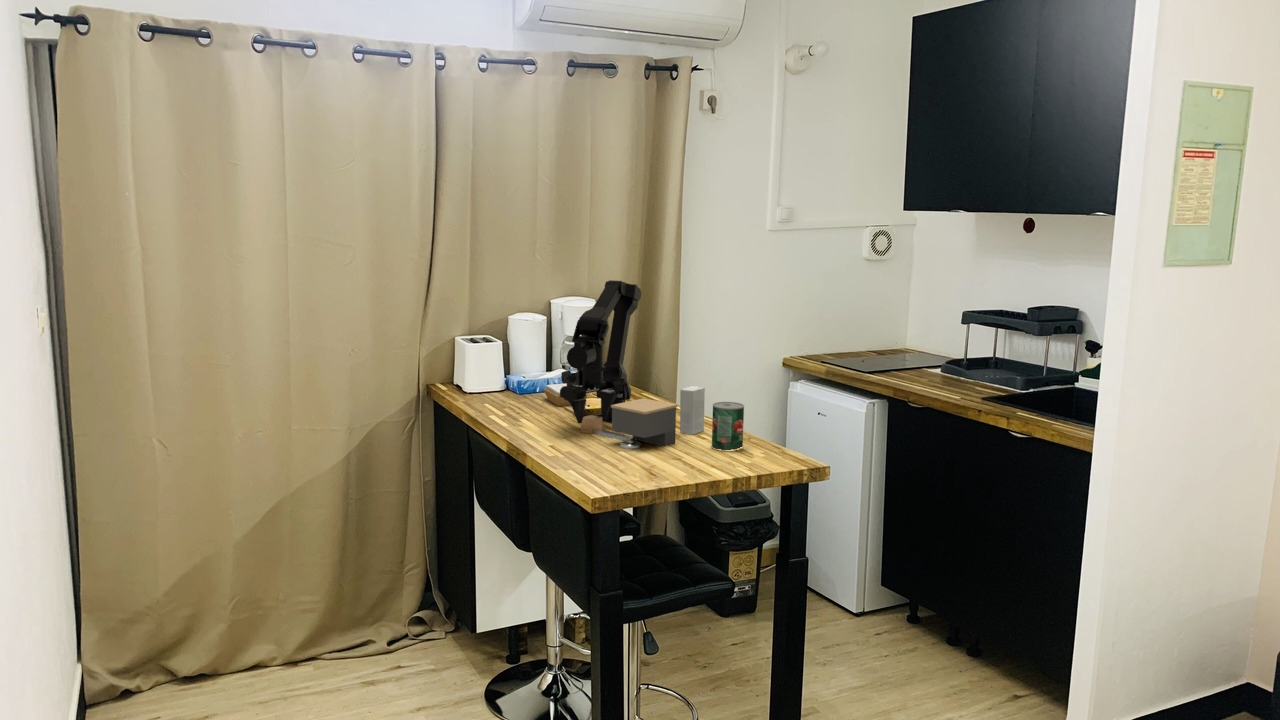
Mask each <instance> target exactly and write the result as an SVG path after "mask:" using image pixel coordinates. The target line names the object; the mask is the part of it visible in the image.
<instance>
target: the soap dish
mask: <svg viewBox="0 0 1280 720" xmlns="http://www.w3.org/2000/svg"><path fill="white" fill-rule="evenodd" d="M563 386H567V384H563V383H556V384H555V383H554V384H547V385H546V388H543V391H544V393H545V396H546V399H547V401H549V402H550V403H552V404H554V405H555V406H557V407H569V406H568V405H571V404H570V403H569V402H568V401H567V400H564V398H562V397H560V389H561V388H562V387H563ZM574 386H575V385H574ZM587 397H588V393H586V396H585V397H584V399H586V400H587Z"/></svg>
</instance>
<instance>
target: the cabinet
mask: <svg viewBox="0 0 1280 720" xmlns="http://www.w3.org/2000/svg"><path fill="white" fill-rule="evenodd" d="M611 408H612V422H611V432H615V433H620V434H624V435H629V436H633V437H636V441H640V442H644V443H649V444H653V445H657V446H662V447H663V446H664V447H667V446H668V447H669V446H670V445H675V444H676V434H677V433H676V429H677V408H678V404H675V403H670V402H669V403H668V402H664V401H659V400H654V399H650V398H649V399H648V398H639V399H634V400H629V401H625V402H624V403H619V404H614V405H611Z"/></svg>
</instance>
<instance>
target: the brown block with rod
mask: <svg viewBox="0 0 1280 720" xmlns="http://www.w3.org/2000/svg"><path fill="white" fill-rule="evenodd" d="M580 432H581V433H584V434H587V435H588V434H589V435H594V434H595V435H597V436H602V437H606V438H611V439H615V440H619V441H622V442H624V441H637V440H636V437H633V435H629V434H624V433H620V432H615V431H612V430H606V429H603V420H602V417H601V416H598V415H593V414H589V415H584V416H583V420H582V423H581V424H580Z"/></svg>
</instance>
